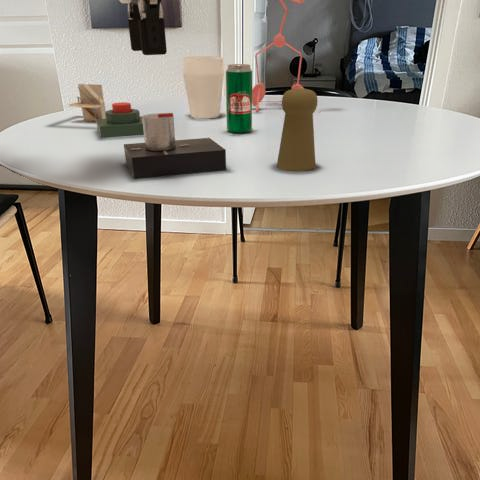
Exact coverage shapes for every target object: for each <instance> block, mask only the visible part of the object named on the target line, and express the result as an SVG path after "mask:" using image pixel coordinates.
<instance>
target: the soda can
mask: <svg viewBox="0 0 480 480" xmlns="http://www.w3.org/2000/svg"><path fill="white" fill-rule="evenodd" d="M252 89H253V70H252V68H251V64H246V63H232V64H228V65H227V69H226V70H225V100H226V101H225V105H226V106H225V107H226V109H225V110H226V111H225V112H226V130H227V131H228V133H230V134H237V135H238V134H240V135H241V134H249V133H250V132H251V131H252V129H253V104H252Z"/></svg>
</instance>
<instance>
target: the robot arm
mask: <svg viewBox="0 0 480 480" xmlns="http://www.w3.org/2000/svg"><path fill="white" fill-rule="evenodd" d="M118 1H119V2H120V3H121V4H127V17H128V19H127V23H128V33H129V40H130V41H129V43H130V47H131V48H130V49H131V50H132V51H133V52H141V53H142V54H143V55H144V56H159V55H160V56H161V55H166V54H167V51H168V50H167V40H166V39H167V38H166V27H165V26H166V25H165V19H164V10H163V5H162V0H118Z"/></svg>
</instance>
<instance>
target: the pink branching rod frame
mask: <svg viewBox="0 0 480 480" xmlns="http://www.w3.org/2000/svg"><path fill="white" fill-rule="evenodd" d="M275 1H278V0H275ZM289 1H291V2H294V3H296V4H298V5H303V3H305V2H306V0H289ZM279 2H280V4H281V6H282V7H283V9H284V13H283V16H282V20H281V24H280V28H279V33H278V34H276V35H275V36H273V42H272V43H270V44H268V46H266V47H264V48H262V49H261V50H260V51H258V52H257V53H255V55H254V58H255V69H256V78H257V83H256V84H254V86H252V106H253V107H254V108H255V112H259V107H260V106H259V105H260V103H264V101H263V99H264V98H265V96H266V86H265V84H264V83H263V82H261V83H260V74H259V65H258V55H260V54H261V53H263V52H264V51H266V50H268V49H269V48H270V47H272V46H274V47H276V48H278V49H279V48H283V47H284V45H285V46H286V47H288V48H289V49H291V50H293V51H294V52H295V53H297V54H299V55H300V57H299V65H298V73H297V82H296V83H294V84H293V85H292V86H291V89H297V88H303V89H305V88H304V87H303V85H301V84H300V77H301V68H302V61H303V54H302V52H300V51H298V50H297V49H295V47H293V46H291V45H290V44H288V43H287V42H286V38H285V36H284V35H283V34H282V32H283V27H284V24H285V20H286V18H287V14H288V11H289V10H288V6H287V5H286V4H285V2H284V1H283V0H279ZM291 89H290V90H291ZM265 103H282V100H277V101H275V100H274V101H271V100H269V101H268V100H267V101H266V100H265ZM319 113H321V111H318V113H317V114H319Z"/></svg>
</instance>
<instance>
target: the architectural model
mask: <svg viewBox="0 0 480 480" xmlns="http://www.w3.org/2000/svg"><path fill="white" fill-rule="evenodd" d="M77 86H78V87H77V89H78V92H79V96H78V95H77V96H76V98H77V102H72V103H69V104H67V106H68V108H80V109H81V111H82V115H76V116H71V119H82V118H83V121H87V122H88V121H89V122H96V119H106V115H105V112H106V111H107V110H106V105H105V99H104V92H103V86H102V84H93V83H91V84H89V83H86V84H85V83H78V85H77Z"/></svg>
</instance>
